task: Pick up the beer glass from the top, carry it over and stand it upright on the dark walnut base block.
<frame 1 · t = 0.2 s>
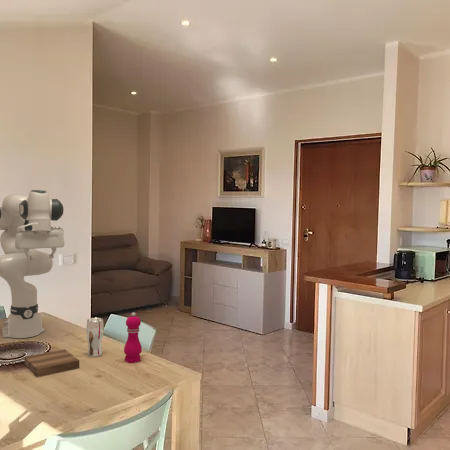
hand: (40, 259, 201), 39 cm above the table, tool pointing down, fingers open, 8 cm apart
pepper mill: (132, 360, 192), on the table
walnut base: (51, 366, 183), on the table
beer glass: (94, 355, 197), on the table
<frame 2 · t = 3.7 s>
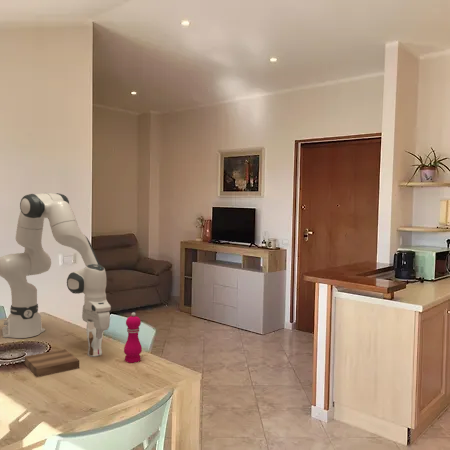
hand: (94, 335, 197), 8 cm above the table, tool pointing down, fingers closed on beer glass, 7 cm apart
beer glass: (94, 355, 197), on the table, touching gripper
everything else where it was.
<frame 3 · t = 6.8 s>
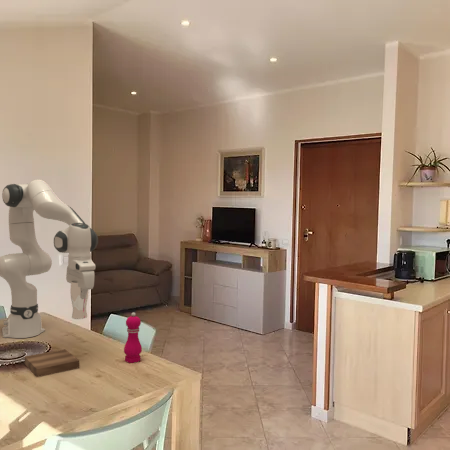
hand: (79, 296, 190), 26 cm above the table, tool pointing down, fingers closed on beer glass, 7 cm apart
beer glass: (79, 317, 191), point 17 cm above the table, touching gripper
everything else where it was.
when the fingers open (12 cm above the table, at t = 10.1 s): beer glass stays where it is, resting on walnut base.
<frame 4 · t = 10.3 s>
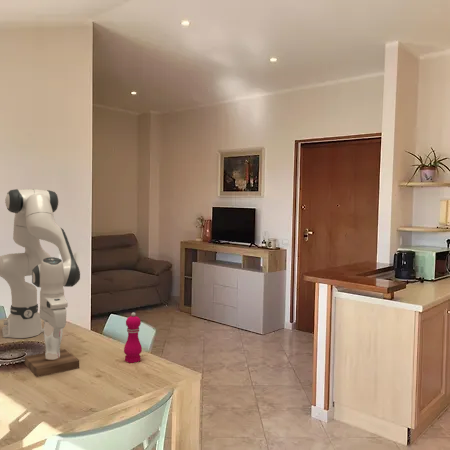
hand: (51, 334, 182), 13 cm above the table, tool pointing down, fingers open, 8 cm apart
beer glass: (52, 358, 183), point 3 cm above the table, touching walnut base
everything else where it was.
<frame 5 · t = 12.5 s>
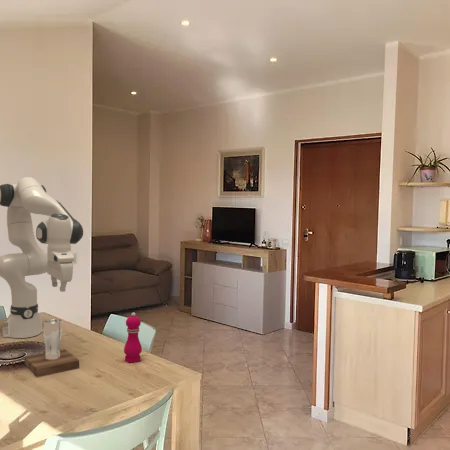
hand: (58, 288, 187), 29 cm above the table, tool pointing down, fingers open, 8 cm apart
nothing on the table moved.
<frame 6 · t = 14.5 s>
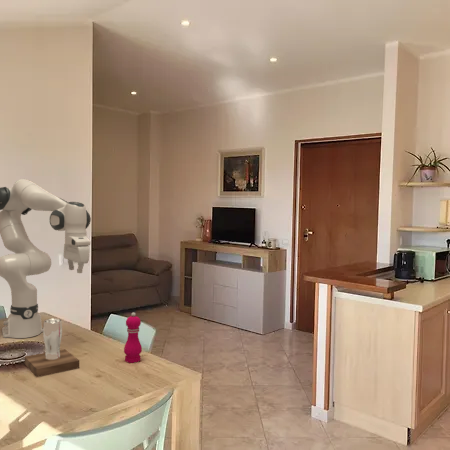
hand: (75, 271, 202), 34 cm above the table, tool pointing down, fingers open, 8 cm apart
nothing on the table moved.
at the end: beer glass inside the target area on the walnut base (0.4 cm from its centre), point 2.8 cm above the walnut base's base; beer glass tilted 0°; the gripper is holding nothing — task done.
